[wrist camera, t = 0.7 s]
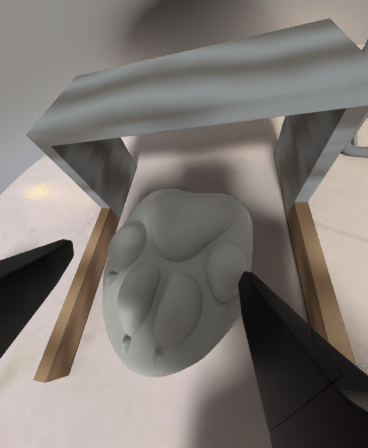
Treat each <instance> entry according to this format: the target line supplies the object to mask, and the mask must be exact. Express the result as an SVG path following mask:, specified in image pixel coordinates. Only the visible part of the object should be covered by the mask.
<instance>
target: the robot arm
mask: <svg viewBox="0 0 368 448" xmlns="http://www.w3.org/2000/svg"><path fill="white" fill-rule="evenodd" d="M73 256H74V251H73V243H72V241H70V240H65V239H62V240H59V241H56V242H53V243H50V244H47V245H44V246H41V247H38V248H35V249H32V250H29V251H27V252H24V253H21V254H18V255H15V256H12V257H9V258H6V259H3V260H0V358H1V357H2V356H3V354H4V353H5V352H6V351H7V349H8V348H9V347H10V345H11V344H12V343H13V341H14V340H15V339H16V337H17V336H18V335H19V333H20V332H21V331H22V329H23V328H24V327H25V326H26V324H27V323H28V322H29V320H30V319H31V318H32V316H33V315H34V314H35V312H36V311H37V310H38V308H39V307H40V306H41V304H42V303H43V302H44V301H45V299H46V298H47V297H48V295H49V294H50V293H51V291H52V290H53V289H54V287H55V286H56V285H57V283H58V281H59V280H60V278H61V277H62V275H63V273H64V272H65V270H66V268H67V267H68V265H69V263H70V262H71V260H72V258H73ZM238 290H239V298H240V306H241V313H242V318H243V323H244V327H245V331H246V335H247V340H248V344H249V348H250V353H251V357H252V361H253V366H254V370H255V374H256V379H257V383H258V387H259V391H260V396H261V400H262V404H263V409H264V413H265V417H266V422H267V426H268V430H269V432H270V433H269V435H270V440H271V444H272V448H368V375H367V374H365V373H364V372H363V371H362V370H361V369H359V368H358V367H357V366H356V365H355V364H353V363H352V362H351V361H350V360H349V359H347V358H346V357H345V356H344V355H343V354H341V353H340V352H339V351H338V350H337V349H336V348H334V347H333V346H332V345H331V344H330V343H329V342H328V341H327V340H325V339H324V338H323V337H322V336H321V335H320V334H319V333H318V332H317V331H315V330H314V329H313V328H311V326H310V325H309V324H308V323H307V322H306V321H305V320H303V319H302V318H301V317H300V316H299V315H298V314H297V313H296V312H295V311H294V310H293V309H291V308H290V307H289V306H288V305H287V304H286V303H285V302H284V301H283V300H282V299H281V298H280V297H278V296H277V295H276V294H275V293H274V292H273V291H272V290H271V289H270V288H269V287H268V286H266V285H265V284H264V283H263V282H262V281H261V280H260V279H259V278H258V277H257V276H256V275H254V274H253V273H252V272H248V271H244V272H243V273H242V276H241V278H240V280H239V282H238Z"/></svg>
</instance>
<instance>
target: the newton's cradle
mask: <svg viewBox="0 0 368 448" xmlns="http://www.w3.org/2000/svg"><path fill="white" fill-rule="evenodd" d="M362 52H363V53H364V54H365V55H366V56H367V57H368V40H367V42H366V44H365V46H364V48H363V50H362ZM367 117H368V112H367V113H366V115H365V116H364V118H363V119H362V121H361V122H360V124H359V125H358V127H357V128H356V130H355V131H354V133H353V134H352V136H351V137H350V139H349V140H348V142H347V143H346V145H345V146H344V148H343V149H342V153H344V154H346V155H349V156H354V157H368V147H358V143H357V131H358V130H359V128H360V127H361V126H362V124H363V123H364V121H365V120H366V118H367ZM352 139H353V145H352V144H351V141H352Z"/></svg>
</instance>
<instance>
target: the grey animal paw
mask: <svg viewBox="0 0 368 448" xmlns="http://www.w3.org/2000/svg"><path fill="white" fill-rule="evenodd" d="M252 255H253V225H252V219H251V216H250V213H249V211H248V210H247V208H246V207H245V206H244V205H243V204H242V203H241V202H240V201H239V200H238V199H237V198H235V197H233V196H231V195H228V194H224V193H192V192H187V191H183V190H180V189H175V188H161V189H158V190H156V191H154V192H152V193H150V194H149V195H147V196H146V197H144V198H143V199H142V200H141V201H140V202H139V203H138V204H137V205H136V206H135V208H134V209H133V211H132V212H131V214H130V216H129V217H128V219H127V221H126V222H125V224H124V226H123V227H121V228H120V229H119V230H118V231H117V232H116V233H115V234H114V236H113V237H112V239H111V241H110V243H109V247H108V260H107V263H106V266H105V270H104V277H103V317H104V322H105V326H106V330H107V333H108V336H109V339H110V341H111V343H112V346H113V348H114V350H115V352H116V354H117V356H118V357H119V359H120V360H121V361H122V363H123V364H124V365H125V366H126V367H127V368H129V369H130V370H132V371H134V372H136V373H138V374H141V375H144V376H149V377H162V376H167V375H171V374H174V373H177V372H179V371H181V370H184V369H186V368H188V367H190V366H192V365H193V364H195V363H197V362H198V361H200V360H201V359H202V358H204V357H205V356H206V355H207V354H208V353H209V352H210V351H211V350H212V349H213V348H214V347H215V346H216V345H217V344H218V343H219V342H220V340H221V339H222V338H223V337H224V336H225V335H226V333H227V332H228V331H229V330H230V328H231V327H232V326H233V324H234V323H235V322H236V320H237V319H238V317H239V315H240V313H241V306H240V298H239V290H238V282H239V280H240V278H241V276H242V273H243V272H244V271H248V272H251V266H252Z"/></svg>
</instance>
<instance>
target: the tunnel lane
mask: <svg viewBox="0 0 368 448" xmlns="http://www.w3.org/2000/svg"><path fill="white" fill-rule="evenodd" d="M367 112H368V57H367V56H366V55H365V54H364V53H363V52H362V51H361V50H360V49H359V48H358V47H357V46H356V45H355V44H354V43H353V42H352V41H351V40H350V38H349V37H348V36H347V35H345V33H344V32H343V31H342V30H341V29H340V28H339V27H338V26H337V25H336V24H335V23H334V22H333V21H332V20H331V19H325V20H321V21H316V22H312V23H307V24H303V25H299V26H294V27H290V28H286V29H281V30H277V31H273V32H268V33H264V34H259V35H255V36H251V37H246V38H242V39H237V40H233V41H229V42H224V43H220V44H216V45H211V46H207V47H203V48H198V49H194V50H189V51H185V52H181V53H176V54H172V55H168V56H163V57H159V58H155V59H150V60H146V61H141V62H137V63H133V64H129V65H124V66H120V67H115V68H111V69H106V70H102V71H98V72H93V73H89V74H84V75H80V76H76V77H75V78H74V80H73V81H72V82H71V83H70V84H69V85H68V86H67V88H66V89H65V90H64V91H63V92H62V93H61V95H60V96H59V97H58V98H57V99H56V101H54V103H53V104H52V105H51V106H50V107H49V109H48V110H47V111H46V112H45V113H44V114H43V115H42V117H41V118H40V119H39V120H38V121H37V122H36V124H35V125H34V126H33V127H32V128H31V129H30V131H29V132H28V133H27V134H26V135H27V136H28V137H29V138H30V139H31V140H32V141H33V142H34V143H35V144H36V145H37V146H38V147H39V148H40V149H41V150H42V151H43V152H44V153H45V154H46V155H47V156H48V157H49V158H50V159H51V160H53V161H54V162H55V163H56V164H57V165H58V166H59V167H60V168H61V169H62V170H63V171H64V172H65V173H66V174H67V175H68V176H69V177H70V178H71V179H72V180H73V181H74V182H75V183H76V184H77V185H78V186H79V187H80V188H81V189H83V190H84V191H85V192H86V193H87V194H88V195H89V196H90V197H91V198H92V199H93V200H94V201H95V202H96V203H97V204H98V205H99V206H100V207H101V208H102V209H101V211H100V214H99V216H98V219H97V221H96V224H95V226H94V229H93V231H92V234H91V236H90V239H89V242H88V244H87V247H86V249H85V252H84V254H83V257H82V259H81V262H80V264H79V267H78V269H77V272H76V274H75V277H74V279H73V282H72V284H71V287H70V289H69V292H68V294H67V297H66V299H65V302H64V304H63V307H62V309H61V312H60V314H59V317H58V319H57V322H56V324H55V327H54V329H53V332H52V334H51V337H50V339H49V342H48V344H47V347H46V349H45V352H44V354H43V357H42V359H41V362H40V364H39V367H38V369H37V372H36V374H35V377H34V379H33V380H36V381H40V382H44V383H46V382H49V381H52V380H55V379H59V378H62V377H65V376H68V375H69V372H70V369H71V366H72V363H73V360H74V357H75V354H76V351H77V348H78V345H79V342H80V339H81V336H82V333H83V330H84V327H85V324H86V320H87V317H88V314H89V311H90V308H91V305H92V302H93V299H94V296H95V293H96V290H97V287H98V284H99V281H100V278H101V275H102V272H103V268H104V265H105V262H106V259H107V256H108V247H109V243H110V241H111V239H112V237H113V236H114V234H115V232H116V229H117V226H118V223H119V220H120V217H121V213H122V210H123V207H124V204H125V201H126V198H127V195H128V192H129V189H130V186H131V183H132V180H133V177H134V174H135V171H136V168H137V167H136V165H135V163H134V161H133V159H132V157H131V156H130V154H129V152H128V150H127V148H126V147H125V145H124V143H123V141H122V139H121V137H126V136H134V135H142V134H149V133H157V132H165V131H173V130H180V129H188V128H196V127H204V126H211V125H219V124H227V123H235V122H242V121H250V120H258V119H265V118H273V117H281V116H285V118H284V122H283V125H282V129H281V132H280V136H279V139H278V143H277V146H276V150H275V153H274V158H275V163H276V167H277V172H278V177H279V181H280V186H281V191H282V196H283V200H284V205H285V210H286V214H287V219H288V224H289V228H290V233H291V238H292V243H293V247H294V252H295V257H296V261H297V266H298V271H299V275H300V280H301V285H302V290H303V294H304V299H305V304H306V308H307V313H308V318H309V322H310V326H311V328H313V329H314V330H315V331H317V332H318V333H319V334H320V335H321V336H322V337H323V338H324V339H325V340H327V341H328V342H329V343H330V344H331V345H332V346H333V347H334V348H336V349H337V350H338V351H339V352H340V353H341V354H343V355H344V356H345V357H346V358H347V359H349V360H350V361H351V362H352V363H353V364H355V361H354V358H353V354H352V351H351V347H350V344H349V341H348V337H347V334H346V330H345V327H344V324H343V320H342V317H341V313H340V310H339V307H338V303H337V300H336V296H335V293H334V290H333V286H332V283H331V279H330V276H329V273H328V269H327V266H326V262H325V259H324V256H323V252H322V249H321V245H320V242H319V239H318V235H317V232H316V228H315V225H314V222H313V218H312V215H311V211H310V208H309V205H308V200H309V199H310V197H311V196H312V194H313V193H314V191H315V190H316V188H317V187H318V185H319V184H320V182H321V181H322V179H323V178H324V176H325V175H326V173H327V172H328V170H329V169H330V167H331V166H332V164H333V163H334V161H335V160H336V158H337V157H338V155H339V154H340V152H341V151H342V149H343V148H344V146H345V145H346V143H347V142H348V140H349V139H350V137H351V136H352V134H353V133H354V131H355V130H356V128H357V127H358V125H359V124H360V122H361V121H362V119H363V118H364V116H365V115H366V113H367ZM355 365H356V364H355Z"/></svg>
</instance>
